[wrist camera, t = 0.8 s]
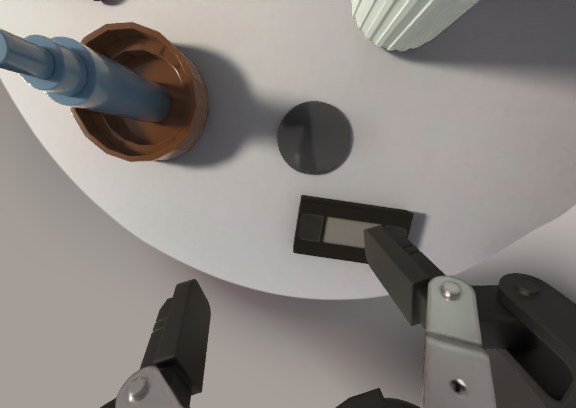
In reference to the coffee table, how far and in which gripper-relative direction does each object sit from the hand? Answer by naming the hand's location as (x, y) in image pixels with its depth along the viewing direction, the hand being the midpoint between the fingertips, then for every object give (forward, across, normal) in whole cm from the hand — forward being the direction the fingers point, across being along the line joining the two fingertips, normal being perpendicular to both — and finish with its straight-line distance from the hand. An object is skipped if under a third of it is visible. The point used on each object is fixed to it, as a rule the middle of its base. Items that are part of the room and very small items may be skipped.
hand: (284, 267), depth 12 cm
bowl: (+28, +11, -8) cm, 31 cm away
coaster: (+23, -7, +1) cm, 24 cm away
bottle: (+27, +11, -8) cm, 30 cm away
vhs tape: (+19, -9, +13) cm, 25 cm away
